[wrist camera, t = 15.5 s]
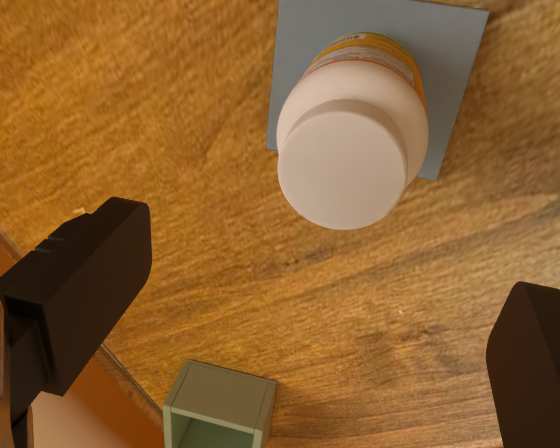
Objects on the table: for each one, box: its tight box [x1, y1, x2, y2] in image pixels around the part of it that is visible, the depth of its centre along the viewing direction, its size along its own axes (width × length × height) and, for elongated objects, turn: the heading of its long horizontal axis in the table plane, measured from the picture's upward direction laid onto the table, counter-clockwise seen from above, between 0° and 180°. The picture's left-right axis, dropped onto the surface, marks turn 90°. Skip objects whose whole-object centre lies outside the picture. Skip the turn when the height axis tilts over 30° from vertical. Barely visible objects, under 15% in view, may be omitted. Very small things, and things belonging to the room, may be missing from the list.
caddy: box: [163, 359, 277, 448], centre depth 36 cm, size 7×7×4 cm
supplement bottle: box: [276, 31, 429, 230], centre depth 18 cm, size 5×5×10 cm
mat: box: [266, 0, 490, 181], centre depth 23 cm, size 9×8×1 cm
